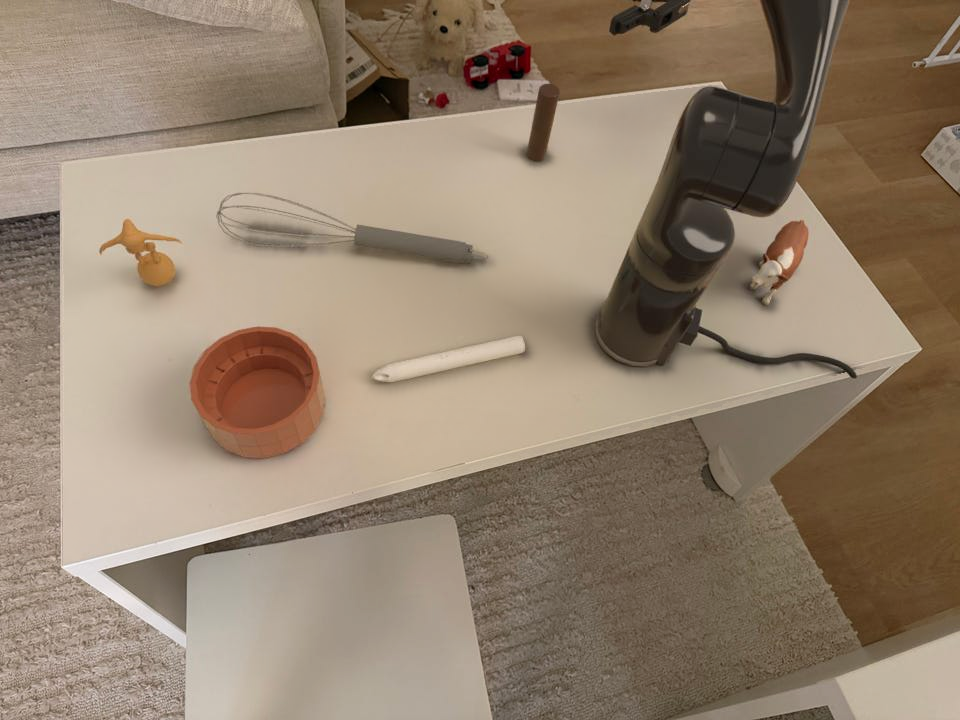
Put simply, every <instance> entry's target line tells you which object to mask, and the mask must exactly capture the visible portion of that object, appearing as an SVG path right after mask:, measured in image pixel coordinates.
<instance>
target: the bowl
mask: <svg viewBox="0 0 960 720" xmlns="http://www.w3.org/2000/svg"><path fill="white" fill-rule="evenodd" d="M322 382H323V381H322V377H321V373H320V369H319V363H318V360H317V357H316V354H315V353H314V352H313V350H312V349H311V347H310V346H309V344H308V343H307V342H305V341H304V340H303V339H301V338H300V337H299V336H298V335H296V334H294V333H293V332H290V331H287V330H284V329H282V328H279V327H275V326H274V327H273V326H260V325H259V326H252V327H247V328H241V329H238V330H235V331H233V332H230V333H228V334H226V335H224V336H222V337H220V338H218V339H217V340H215V342H213V343H212V344H211V345H210V346H208V347H207V348H206V349H205V350H204V351H203V353H202V354H201V356H200V357H199V358H198V360H197V361H196V363H195V365H194V366H193V369H192V373H191V378H190V381H189V389H190V390H189V392H190V398H191V402H192V404H193V406H194V407H195V409H196V411H197V413H198V415H199V417H200V418H201V420H202V421H203V423H204V425H205V427H206V429H207V430H208V432H209V433H210V435H211V437H212V439H213V440H214V442H216V443H218V444H219V446H221V447H222V448H223V449H225V450H226V451H227V452H230V453H233V454H235V455H239V456H241V457H245V458H258V459H265V458H270V457H274V456H278V455H283V454H286V453H287V452H289V451H291V450H293V449H295V448H296V447H298V446H300V445H301V444H303V443H304V442H305V441H306V440H307V439H308V438H309V437H311V435H312V434H313V433H314V432H315V431H316V429H317V427H318V425H319V423H320V422H321V419H322V418H323V415H324V410H325V404H326V396H325V392H324V387H323V383H322Z"/></svg>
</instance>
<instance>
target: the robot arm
mask: <svg viewBox="0 0 960 720" xmlns="http://www.w3.org/2000/svg"><path fill="white" fill-rule="evenodd" d="M632 2H633V3H635V2H638V3H639V6H638V5H637V4H633V6H631V7H629V8H627V9H625V10H623V11H621V12H619V13H617V14H616V15H614V16H613V17H612V18H611V20H610V24H609V30H608V32H609V33H610V34H611V35H612V36H617V35H623V34H626V33H628V32H630V31H632V30H633V29H635V28H637V27H639V28H642V27H645V26H646V27H648V28H649V32H650V33H652V34H657V33H659V32H661V31H663V30H664V29H666V28H667V27H669V26H671V25H672V24H673V23H675V22H677V21H679V20H680V19H682V18H683V17H685V16H686V15H687V14H688V10H689V8H690V5H691V0H632ZM653 3H663V4H661V5H660V6H658V7H656V8H655V9H654V8H652V5H653ZM759 3H760V7H761V9H762V13H763V16H764V19H765V23H766V25H767V28H768V32H769V37H770V40H771V44H772V48H773V49H772V50H773V54H774V65H775V66H774V67H775V69H774V70H775V75H774V76H775V79H774V91H773V92H774V93H773V99H772V101H769V100H765V99H761V98H758V97H755V96H751V95H748V94H744V93H741V92H737V91H735V90H730V89H727V88H723V87H718V86H714V85H707V86H704V87H702V88H700V89H699V90H697V91H696V92H695V93H694V94H693V95H692V96H691V98H690V99H689V101H688V102H687V104H686V105H685V108H684V109H683V111H682V113H681V115H680V117H679V119H678V122H677V125H676V128H675V130H674V131H673V132H674V133H673V135H672V138H671V141H670V143H669V146H668V150H667V153H666V155H665V158H664V161H663V165H662V167H661V170H660V172H659V174H658V178H657V180H656V183H655V185H654V188H653V189H652V190H653V191H652V193H651V194H650V197H649V199H648V201H647V204H646V207H645V209H644V211H643V213H642V215H641V218H640V220H639V222H638V224H637V227H636V229H635V230H634V232H633V233H634V234H633V236H632V238H631V241H630V243H629V245H628V248H627V250H626V252H625V254H624V257H623V260H622V262H621V264H620V266H619V269H618V271H617V274H616V275H615V278H614V281H613V283H612V285H611V288H610V290H609V292H608V295H607V297H606V298H605V299H606V300H605V302H604V304H603V307H602V309H601V310H600V312H599V314H598V316H597V319H596V321H595V325H594V332H595V337H596V339H597V342H598V344H599V346H600V348H601V349H602V350H603V352H605V353H606V354H607V355H608V356H610V358H612V359H614V360H615V361H617V362H619V363H621V364H624V365H627V366H631V367H648V366H652V365H655V364H656V365H660V366H665V365H666V363H667V362H668V361H669V359H670V357H671V355H672V354H673V352H675V349H676V348H677V346H678V345H679V344H682V345H686V346H689V347H691V346H692V345H693V343H694V341H695V340H696V339H697V337H698V335H699V334H700V335H703V336H705V337H707V338H709V339H711V340H713V341H715V342H716V343H718V344H719V345H720V346H721V349H722V350H723V351H725V352H727V353H728V354H729V355H732V356H734V357H737V358H739V359H743V360H745V361H750V362H754V363H758V364H759V363H760V364H766V365H781V364H785V363H789V362H793V361H798V360H808V361H813V362H818V363H819V362H820V363H824V364H829V365H830V366H831V365H832V366H834V367H837V368H839V369H841V370H842V371H844V372H846V374H848V376H849V377H850V378H851V379H857V378H858V376H857V373H856V371H855V370H854V369H853V368H852V367H851V366H850V365H848V364H847V363H845V362H843V361H841V360H839V359H836V358H834V357H829V356H826V355H821V354H820V355H819V354H814V353H806V352H798V353H792V354H788V355H784V356H778V357H766V356H760V355H754V354H751V353H747V352H744V351H741V350H739V349H736V348H734V347H732V346H730V345H729V343H728V341H727V339H726V338H724V337H722V336H721V335H719V334H718V333H715V332H713V331H712V330H709V329H708V328H705V327H703V326H701V318H702V314H703V309H701V308H698V307H697V304H698V303H699V301H700V300H701V298H702V297H703V294H704V293H705V291H706V290H707V288H708V287H709V285H710V283H711V281H712V280H713V279H714V277H715V275H716V274H717V272H718V271H719V269H720V267H721V266H722V264H723V262H724V261H725V260H726V258H727V256H728V254H729V253H730V251H731V249H732V248H733V245H734V242H735V235H736V233H735V232H736V231H735V230H736V229H735V225H734V222H733V219H732V218H731V216H730V214H729V212H728V211H727V210H730V211H733V212H736V213H740V214H744V215H747V216H750V217H754V218H761V219H764V218H768V217H772V216H773V215H774V214H776V213H778V211H780V209H781V208H783V206H784V205H785V203H786V202H787V201H788V199H789V197H790V196H791V194H792V192H793V190H794V189H795V186H796V184H797V181H798V180H799V177H800V174H801V172H802V170H803V166H804V164H805V161H806V157H807V154H808V151H809V149H810V148H809V147H810V144H811V140H812V137H813V133H814V129H815V125H816V121H817V118H818V115H819V110H820V107H821V102H822V99H823V94H824V90H825V85H826V80H827V78H828V74H829V70H830V66H831V62H832V59H833V54H834V50H835V47H836V44H837V41H838V37H839V34H840V31H841V29H842V26H843V22H844V19H845V17H846V14H847V11H848V8H849V4H850V3H851V0H759Z"/></svg>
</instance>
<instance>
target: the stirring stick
mask: <svg viewBox="0 0 960 720" xmlns="http://www.w3.org/2000/svg"><path fill="white" fill-rule="evenodd" d="M560 94H561V91H560V88H559V87H558V86H557V85H555V84H552V83H543V84H542V85H540V86H539V88H538V92H537V97H536V104H535V108H534V111H533V112H534V113H533V117H532V118H533V119H532V122H531V129H530V132H529V133H530V134H529V139H528V144H527V148H526V158H528V159H529V160H530V161H531V162H536V163H537V162H538V163H539V162H543V161H544V160H545V158H546V156H547V151H548V148H549V147H548V146H549V143H550V139H551V134H552V129H553V125H554V121H555V120H554V119H555V115H556V111H557V108H558V103H559V98H560Z"/></svg>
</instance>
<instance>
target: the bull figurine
mask: <svg viewBox="0 0 960 720" xmlns="http://www.w3.org/2000/svg"><path fill="white" fill-rule="evenodd" d="M808 240H809V228H808V226H807V225H806V224H805V220H804V219H800V220H799V221H798V220H791V221H789V222H788V223H787V224H785V225H783V226H782V227H781V229H780V230H779V231H778V232H777V234H776V235H775V236H774V240H773V241H772V242H771V243H769V245H768V247H767V249H766V251H765V253H762V260H761V261H760V262H759V263H758V267H759V270H758V272H756V274H755V275H753V276H752V277H751V279H750V280H751V283H750V284H749V286H748V287H749V289H750V290H751V291H755V290H757V289H758V288H759V287H760V286H761V285H764V287H765V288H766V287H767V288H768V287H769V286H771V287H770V289H769V291H768V293H766V294H765V296H763V298H762V299H761V302H762V304H763V305H765V306H768V305H769V304H770V302H771V300H772V297H773V295H774V294H776V293H777V292H778V290H779V289H780V288H781V287H782V286H783V284H785V283H786V282H789V280H790V279H791V278H792V277H793V275H794V273H795V271H796V270H797V269H798V267H799V266H800V264H801V262H802V261H803V258H804V252H805V249H806V247H807V244H808Z"/></svg>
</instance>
